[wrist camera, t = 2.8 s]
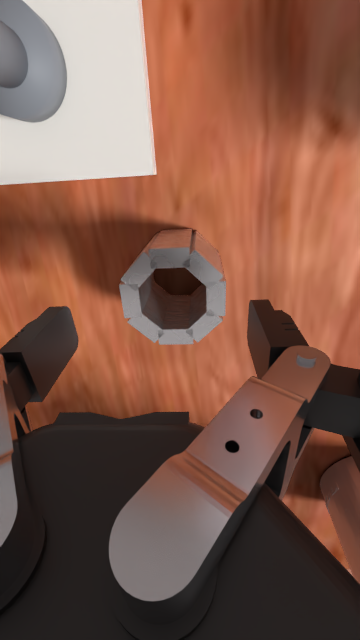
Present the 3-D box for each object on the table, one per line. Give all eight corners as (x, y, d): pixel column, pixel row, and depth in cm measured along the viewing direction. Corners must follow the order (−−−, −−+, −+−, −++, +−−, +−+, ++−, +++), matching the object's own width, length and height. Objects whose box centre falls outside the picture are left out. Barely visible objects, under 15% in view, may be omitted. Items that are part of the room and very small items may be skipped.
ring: (220, 227, 18) (226, 245, 13) (219, 306, 20) (224, 343, 16) (134, 231, 18) (112, 250, 14) (144, 308, 21) (129, 344, 16)
